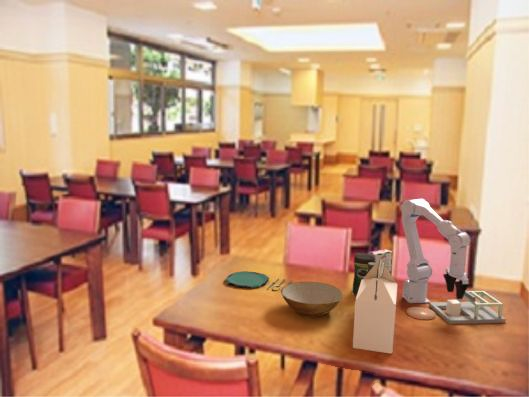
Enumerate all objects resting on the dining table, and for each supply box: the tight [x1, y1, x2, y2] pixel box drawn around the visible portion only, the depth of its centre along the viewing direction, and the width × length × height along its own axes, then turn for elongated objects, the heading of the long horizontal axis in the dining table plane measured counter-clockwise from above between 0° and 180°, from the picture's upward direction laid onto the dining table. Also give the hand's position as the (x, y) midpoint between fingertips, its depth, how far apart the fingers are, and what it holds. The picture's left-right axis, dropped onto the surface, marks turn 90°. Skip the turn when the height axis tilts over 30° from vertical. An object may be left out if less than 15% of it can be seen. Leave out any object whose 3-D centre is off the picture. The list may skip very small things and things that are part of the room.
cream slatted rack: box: [457, 290, 504, 317], centre depth 198 cm, size 11×14×7 cm
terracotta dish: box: [406, 306, 437, 321], centre depth 197 cm, size 11×11×1 cm
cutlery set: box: [225, 270, 293, 292], centre depth 228 cm, size 20×30×2 cm, turn 69°
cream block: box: [445, 299, 461, 317], centre depth 197 cm, size 4×4×6 cm
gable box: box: [352, 257, 398, 355], centre depth 173 cm, size 22×13×28 cm, turn 164°
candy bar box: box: [367, 248, 393, 275], centre depth 228 cm, size 11×5×16 cm, turn 119°
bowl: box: [280, 281, 344, 317], centre depth 197 cm, size 25×25×8 cm
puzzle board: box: [428, 300, 507, 325], centre depth 198 cm, size 23×18×2 cm
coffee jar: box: [351, 252, 376, 296], centre depth 216 cm, size 10×8×19 cm
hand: (454, 295), depth 196 cm, fingers open, 7 cm apart
